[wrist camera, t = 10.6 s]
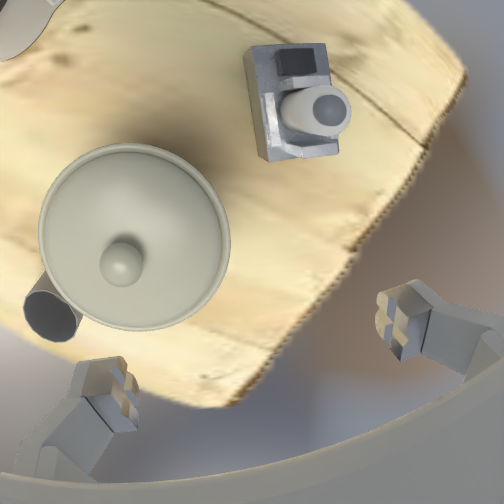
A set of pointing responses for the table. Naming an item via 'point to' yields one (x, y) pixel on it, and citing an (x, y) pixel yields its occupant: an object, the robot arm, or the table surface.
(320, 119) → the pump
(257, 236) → the table surface
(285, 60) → the grey holder stand
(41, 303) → the cup
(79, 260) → the canister
